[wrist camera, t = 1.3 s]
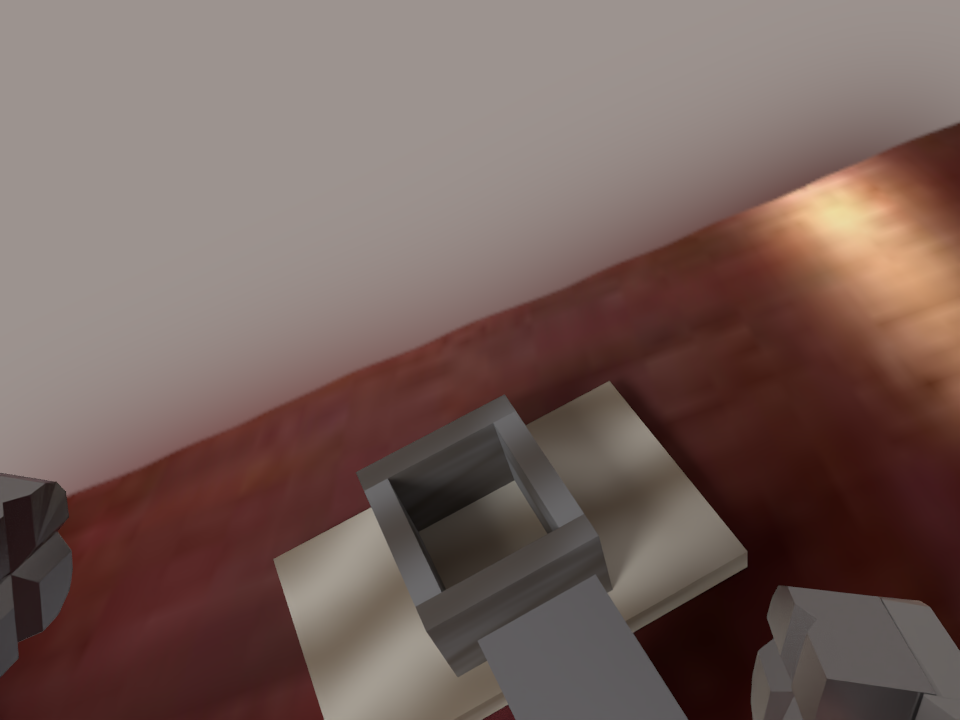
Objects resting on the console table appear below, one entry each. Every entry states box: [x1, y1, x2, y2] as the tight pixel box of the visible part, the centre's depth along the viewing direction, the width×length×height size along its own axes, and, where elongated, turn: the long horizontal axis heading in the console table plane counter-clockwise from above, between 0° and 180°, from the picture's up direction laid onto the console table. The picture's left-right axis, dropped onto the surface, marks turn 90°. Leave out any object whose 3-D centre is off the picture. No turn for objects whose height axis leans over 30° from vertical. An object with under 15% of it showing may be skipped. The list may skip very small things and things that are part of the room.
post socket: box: [273, 381, 747, 720], centre depth 39 cm, size 12×20×6 cm, turn 115°
